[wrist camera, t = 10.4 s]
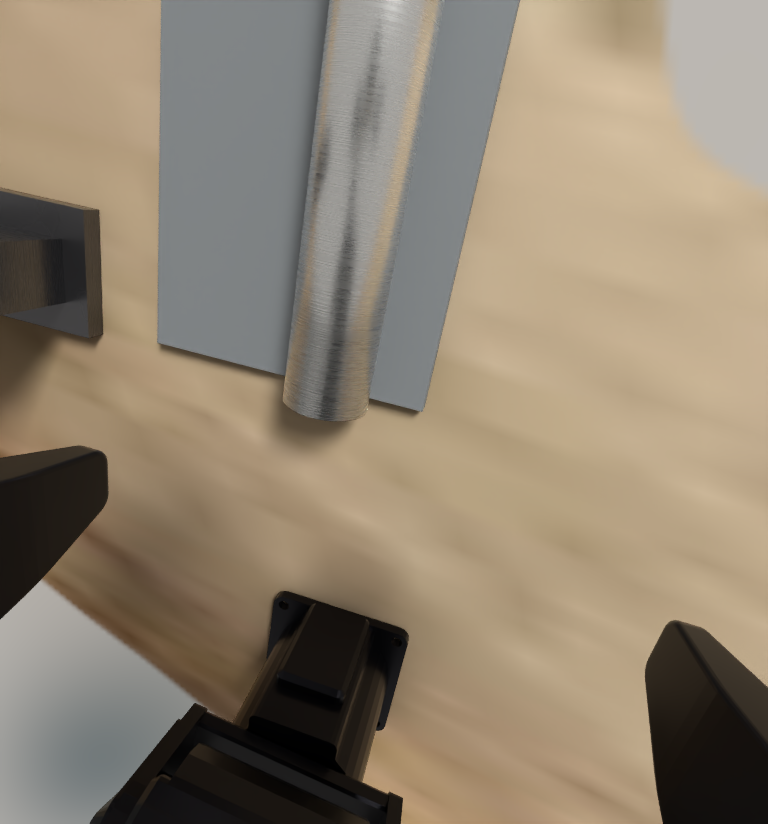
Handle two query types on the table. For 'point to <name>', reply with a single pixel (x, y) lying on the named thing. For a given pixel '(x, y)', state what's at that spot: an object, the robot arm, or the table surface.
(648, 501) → the table surface
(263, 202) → the grey plate
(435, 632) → the table surface
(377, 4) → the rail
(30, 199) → the dark grey notched cradle
